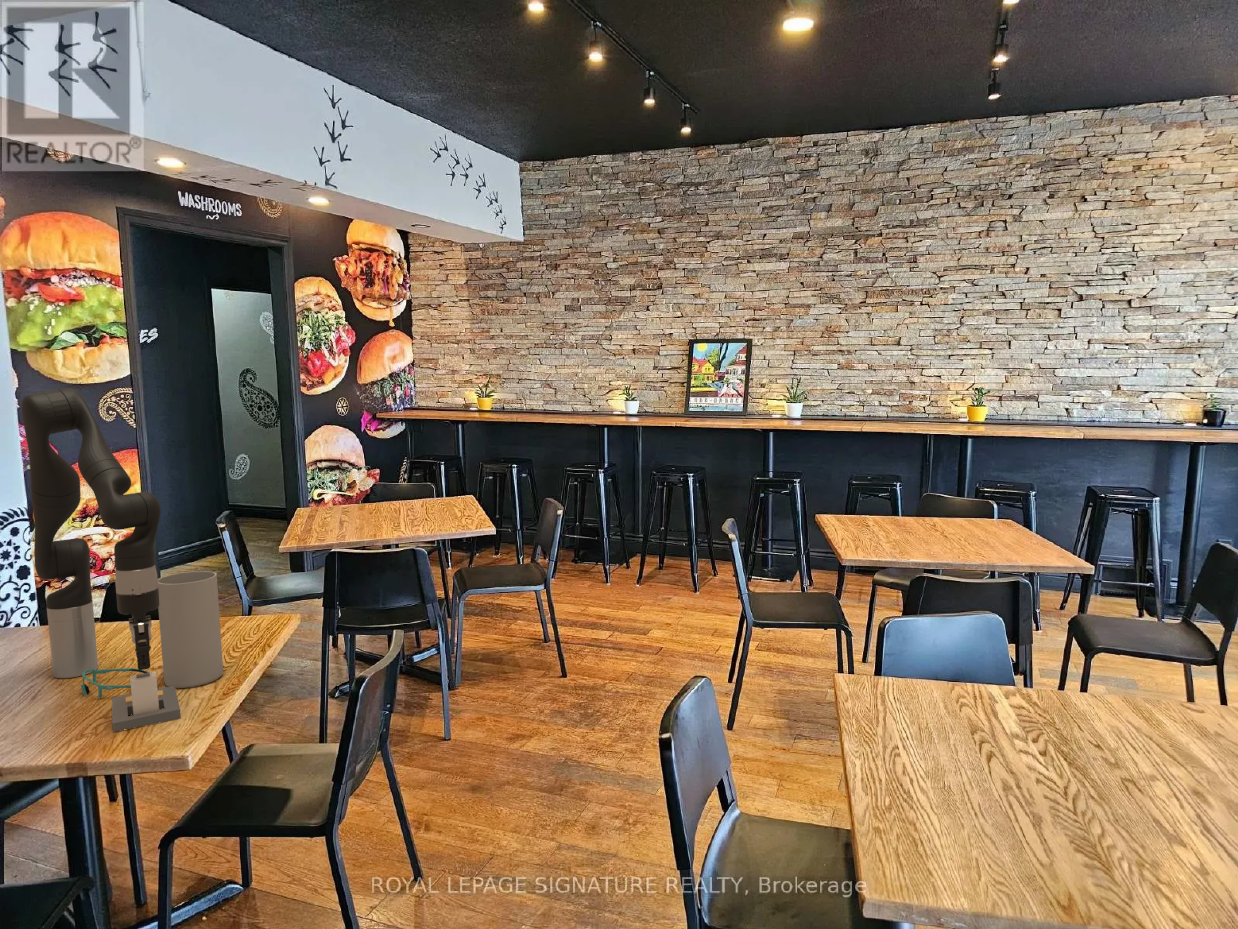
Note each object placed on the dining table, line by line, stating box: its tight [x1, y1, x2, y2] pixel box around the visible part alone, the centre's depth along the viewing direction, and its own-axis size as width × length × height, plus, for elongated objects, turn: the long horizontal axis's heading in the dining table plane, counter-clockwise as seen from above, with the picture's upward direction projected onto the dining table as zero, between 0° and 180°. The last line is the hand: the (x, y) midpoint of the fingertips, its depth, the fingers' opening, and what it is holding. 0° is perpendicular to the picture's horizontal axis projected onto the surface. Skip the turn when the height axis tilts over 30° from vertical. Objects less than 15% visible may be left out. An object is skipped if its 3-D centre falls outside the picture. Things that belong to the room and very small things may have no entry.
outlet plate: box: [111, 685, 182, 733], centre depth 167 cm, size 16×12×2 cm
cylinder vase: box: [157, 570, 224, 689], centre depth 184 cm, size 12×12×25 cm
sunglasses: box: [80, 667, 159, 698], centre depth 181 cm, size 14×15×5 cm
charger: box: [129, 671, 160, 716], centre depth 164 cm, size 4×5×9 cm
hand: (143, 662), depth 163 cm, fingers open, 8 cm apart
